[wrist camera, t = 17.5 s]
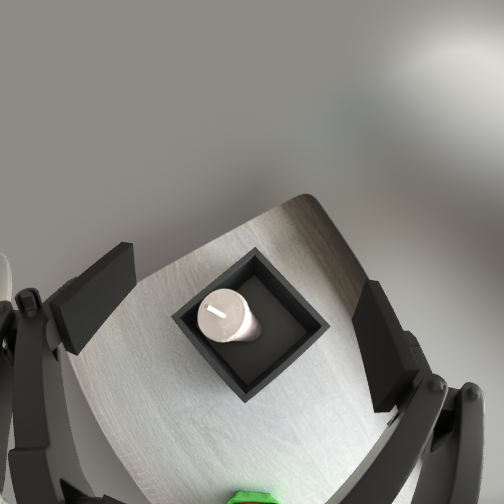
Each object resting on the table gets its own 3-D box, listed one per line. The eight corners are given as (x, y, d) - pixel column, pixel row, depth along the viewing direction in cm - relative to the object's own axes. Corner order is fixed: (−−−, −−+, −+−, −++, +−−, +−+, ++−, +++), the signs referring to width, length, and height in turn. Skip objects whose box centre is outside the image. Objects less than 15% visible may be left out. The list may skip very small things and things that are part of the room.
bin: (188, 324, 41) (170, 316, 32) (255, 269, 44) (255, 246, 35) (247, 391, 37) (244, 403, 28) (313, 332, 40) (330, 326, 31)
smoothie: (255, 359, 37) (208, 346, 25) (221, 337, 40) (166, 314, 28) (278, 320, 38) (242, 290, 27) (243, 301, 42) (197, 265, 30)
